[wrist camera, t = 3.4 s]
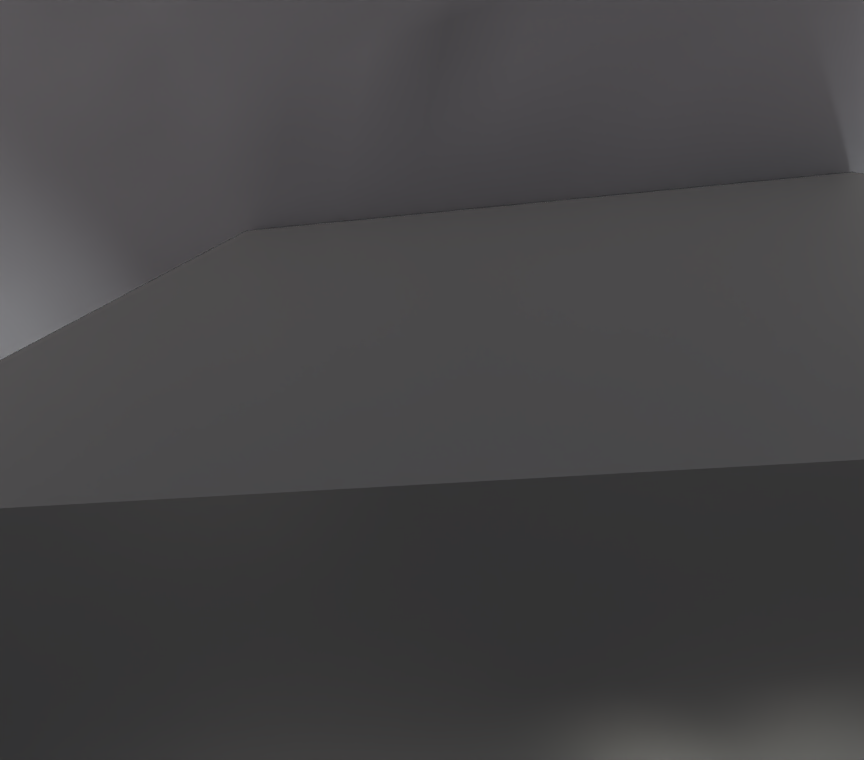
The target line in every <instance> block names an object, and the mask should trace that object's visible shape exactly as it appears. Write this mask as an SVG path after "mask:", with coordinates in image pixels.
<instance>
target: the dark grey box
mask: <svg viewBox="0 0 864 760" xmlns="http://www.w3.org/2000/svg"><path fill="white" fill-rule="evenodd" d="M0 760H864V174H861V173H855V172H849V173H838V174H828V175H818V176H807V177H797V178H787V179H776V180H766V181H756V182H745V183H735V184H725V185H714V186H704V187H694V188H683V189H673V190H662V191H652V192H642V193H631V194H621V195H611V196H600V197H590V198H580V199H569V200H559V201H549V202H538V203H528V204H518V205H507V206H497V207H487V208H476V209H466V210H456V211H445V212H435V213H425V214H414V215H404V216H394V217H383V218H373V219H363V220H352V221H342V222H331V223H321V224H311V225H300V226H290V227H280V228H269V229H259V230H249V231H245V232H243V233H241V234H239V235H237V236H236V237H234V238H232V239H230V240H228V241H226V242H224V243H222V244H220V245H218V246H217V247H215V248H213V249H211V250H209V251H207V252H205V253H203V254H201V255H199V256H197V257H196V258H194V259H192V260H190V261H188V262H186V263H184V264H182V265H180V266H178V267H177V268H175V269H173V270H171V271H169V272H167V273H165V274H163V275H161V276H159V277H158V278H156V279H154V280H152V281H150V282H148V283H146V284H144V285H142V286H140V287H139V288H137V289H135V290H133V291H131V292H129V293H127V294H125V295H123V296H121V297H120V298H118V299H116V300H114V301H112V302H110V303H108V304H106V305H104V306H102V307H100V308H99V309H97V310H95V311H93V312H91V313H89V314H87V315H85V316H83V317H81V318H80V319H78V320H76V321H74V322H72V323H70V324H68V325H66V326H64V327H62V328H61V329H59V330H57V331H55V332H53V333H51V334H49V335H47V336H45V337H43V338H42V339H40V340H38V341H36V342H34V343H32V344H30V345H28V346H26V347H24V348H22V349H21V350H19V351H17V352H15V353H13V354H11V355H9V356H7V357H5V358H3V359H2V360H0Z"/></svg>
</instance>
